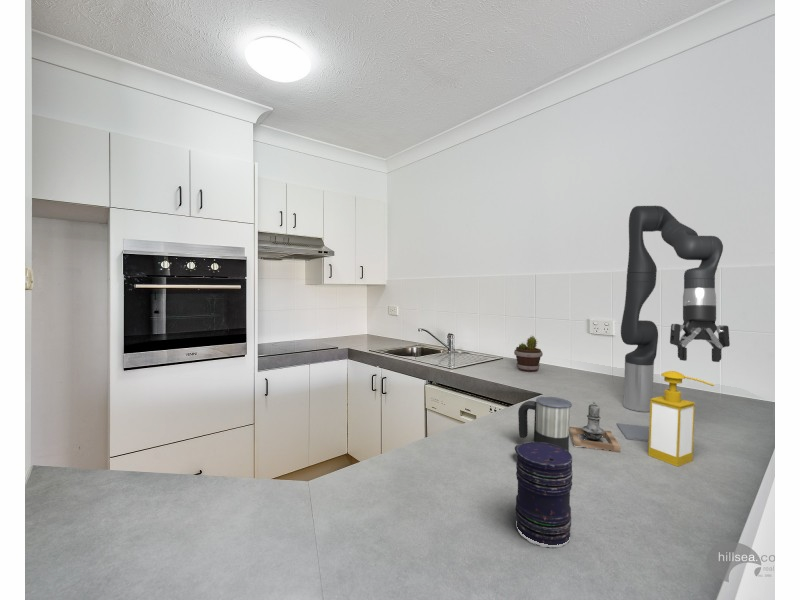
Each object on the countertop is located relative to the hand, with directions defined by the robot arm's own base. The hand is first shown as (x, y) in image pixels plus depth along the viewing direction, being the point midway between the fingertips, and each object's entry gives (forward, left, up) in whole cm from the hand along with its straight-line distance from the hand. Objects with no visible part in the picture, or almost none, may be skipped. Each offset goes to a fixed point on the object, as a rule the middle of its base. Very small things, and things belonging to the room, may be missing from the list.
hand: (699, 361), depth 108 cm
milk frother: (+22, -43, -25) cm, 54 cm away
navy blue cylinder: (+54, -45, -25) cm, 74 cm away
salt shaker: (+6, -28, -25) cm, 38 cm away
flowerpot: (-87, -44, -25) cm, 101 cm away
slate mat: (-5, -12, -25) cm, 28 cm away
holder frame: (+6, -28, -25) cm, 38 cm away
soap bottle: (+13, -8, -25) cm, 29 cm away
